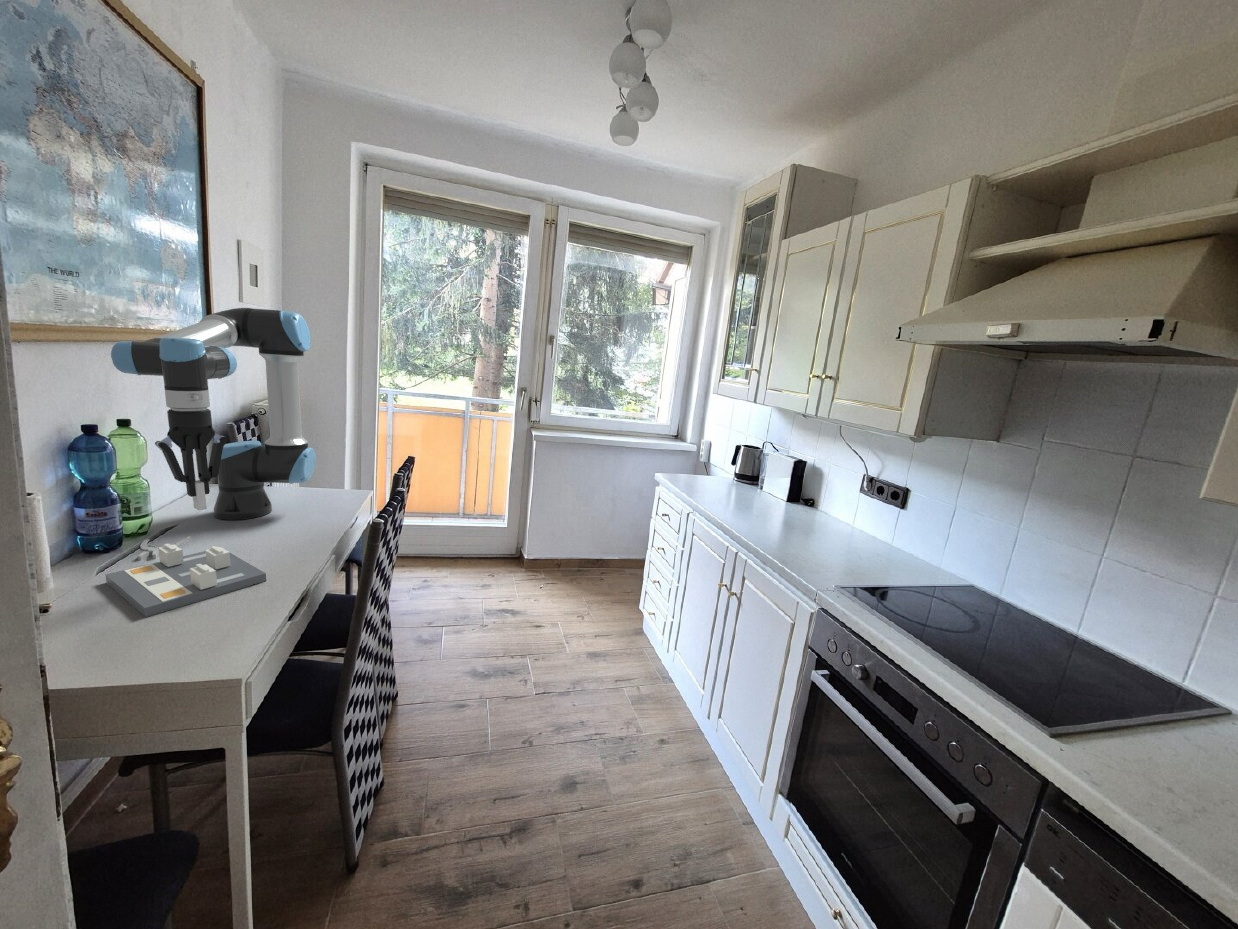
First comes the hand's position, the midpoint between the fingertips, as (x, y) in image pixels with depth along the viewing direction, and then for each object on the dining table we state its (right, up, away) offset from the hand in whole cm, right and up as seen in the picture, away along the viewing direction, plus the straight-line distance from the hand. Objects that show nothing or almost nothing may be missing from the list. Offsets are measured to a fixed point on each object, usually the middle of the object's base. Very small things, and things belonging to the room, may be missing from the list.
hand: (200, 508), depth 119 cm
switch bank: (-2, -17, -1) cm, 17 cm away
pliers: (-24, -13, +15) cm, 31 cm away
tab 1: (-10, -13, +3) cm, 17 cm away
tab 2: (+1, -14, +4) cm, 15 cm away
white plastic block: (+6, -16, -6) cm, 18 cm away
